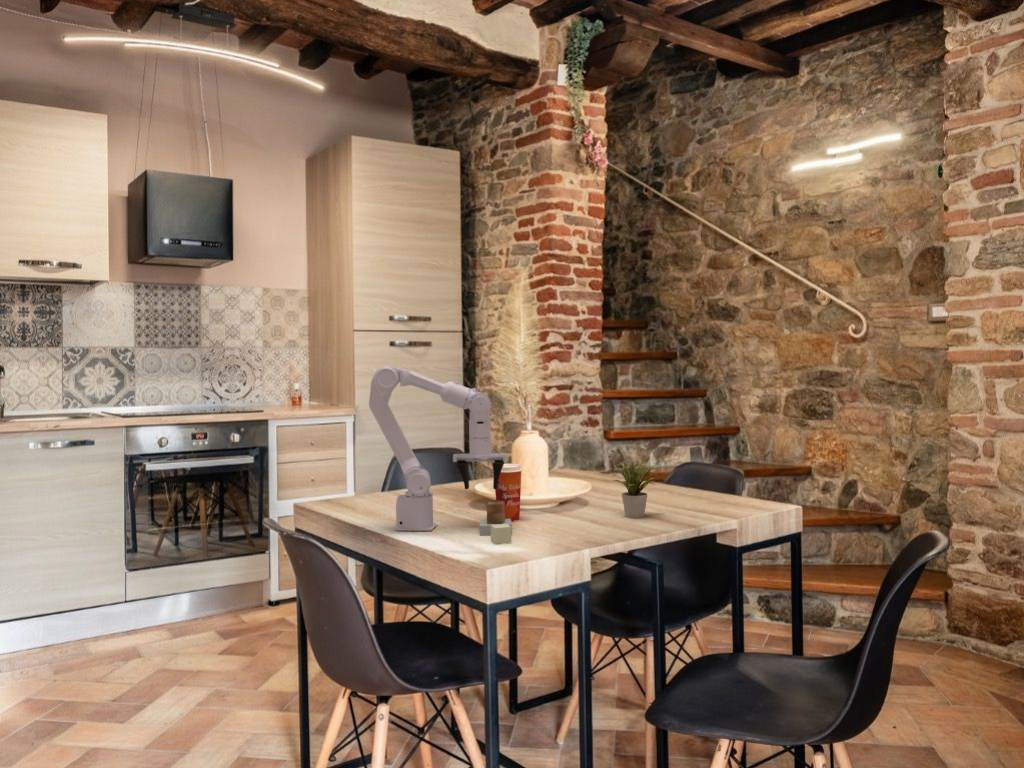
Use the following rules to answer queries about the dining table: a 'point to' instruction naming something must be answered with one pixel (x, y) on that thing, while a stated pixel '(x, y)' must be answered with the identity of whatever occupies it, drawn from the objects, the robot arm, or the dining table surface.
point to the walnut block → (495, 512)
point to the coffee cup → (510, 490)
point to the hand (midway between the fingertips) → (481, 488)
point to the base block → (486, 528)
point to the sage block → (500, 533)
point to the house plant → (634, 489)
